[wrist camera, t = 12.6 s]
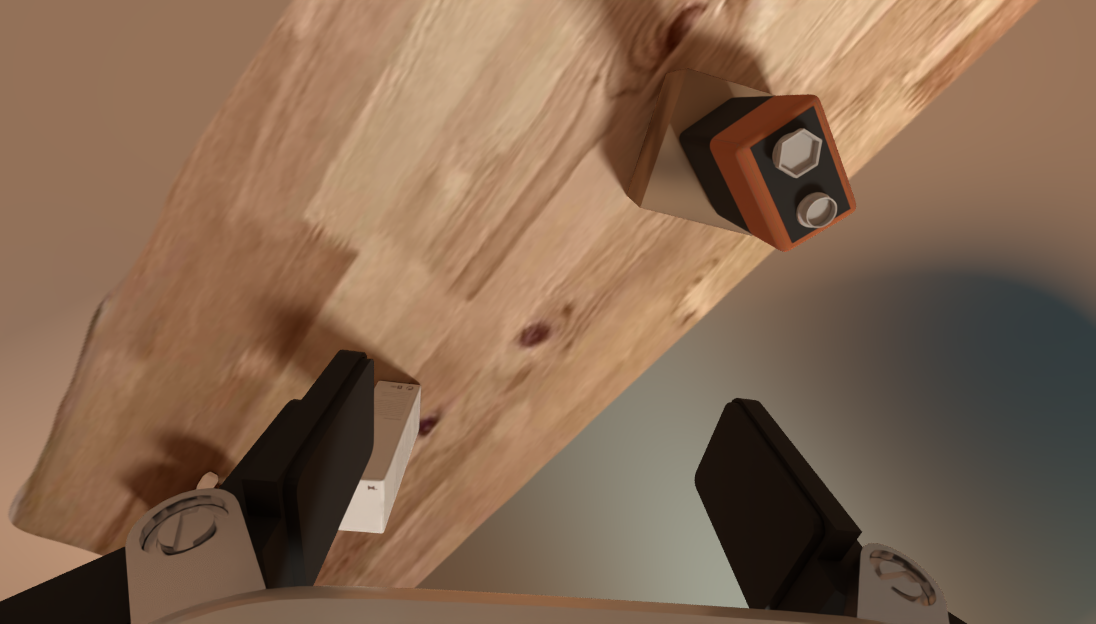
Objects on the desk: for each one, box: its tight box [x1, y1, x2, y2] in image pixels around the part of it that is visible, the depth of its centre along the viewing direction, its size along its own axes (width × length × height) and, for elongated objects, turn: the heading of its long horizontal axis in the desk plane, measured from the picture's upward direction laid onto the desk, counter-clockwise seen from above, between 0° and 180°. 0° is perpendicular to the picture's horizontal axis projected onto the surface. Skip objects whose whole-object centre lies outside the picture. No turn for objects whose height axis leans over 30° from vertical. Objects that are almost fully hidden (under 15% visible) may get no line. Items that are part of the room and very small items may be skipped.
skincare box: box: [338, 381, 421, 533], centre depth 37 cm, size 6×4×12 cm
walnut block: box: [627, 68, 776, 236], centre depth 32 cm, size 9×9×5 cm
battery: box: [679, 95, 856, 252], centre depth 25 cm, size 4×7×10 cm, turn 35°
